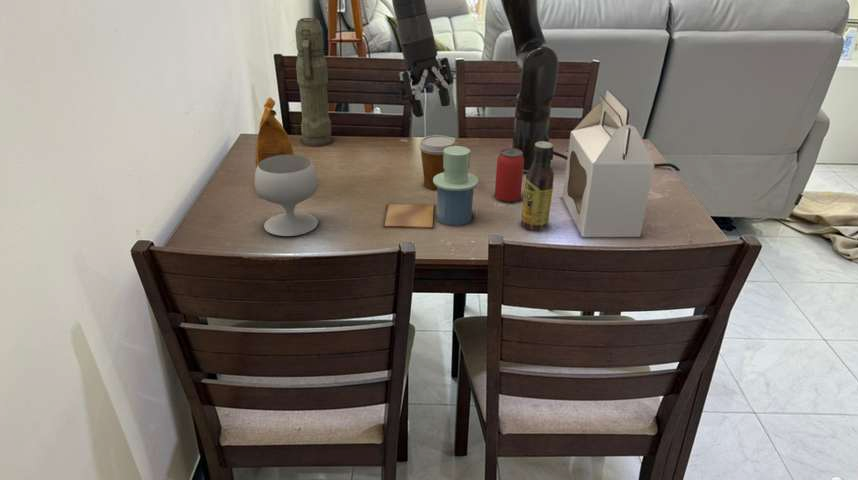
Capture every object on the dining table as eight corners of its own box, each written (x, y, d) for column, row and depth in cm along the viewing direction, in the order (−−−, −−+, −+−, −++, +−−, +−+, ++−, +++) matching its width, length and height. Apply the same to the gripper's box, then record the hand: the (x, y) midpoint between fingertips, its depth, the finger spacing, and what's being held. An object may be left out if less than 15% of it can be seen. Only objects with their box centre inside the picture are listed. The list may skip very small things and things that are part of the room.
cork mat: (433, 206, 164) (433, 205, 164) (432, 228, 154) (432, 226, 154) (388, 205, 165) (388, 203, 164) (384, 227, 154) (384, 225, 154)
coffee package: (297, 177, 180) (289, 94, 168) (297, 195, 169) (289, 109, 158) (259, 179, 178) (249, 96, 167) (257, 198, 168) (245, 111, 156)
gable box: (561, 197, 169) (576, 85, 155) (613, 197, 170) (632, 86, 155) (582, 238, 150) (600, 114, 136) (640, 237, 151) (665, 114, 136)
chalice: (324, 236, 150) (319, 173, 142) (260, 242, 147) (252, 178, 140) (319, 210, 162) (314, 150, 154) (259, 215, 159) (252, 154, 151)
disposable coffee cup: (451, 193, 171) (453, 148, 165) (415, 190, 173) (415, 145, 166) (457, 179, 179) (459, 136, 173) (422, 176, 181) (423, 133, 175)
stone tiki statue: (300, 148, 199) (289, 23, 181) (304, 135, 209) (294, 15, 191) (330, 147, 200) (322, 23, 182) (333, 134, 210) (325, 15, 192)
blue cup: (471, 210, 162) (472, 175, 158) (472, 225, 155) (473, 189, 151) (437, 209, 163) (438, 174, 158) (436, 224, 156) (437, 188, 151)
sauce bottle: (518, 220, 158) (525, 138, 148) (544, 219, 158) (553, 138, 148) (524, 232, 152) (532, 148, 142) (551, 232, 153) (561, 148, 143)
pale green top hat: (477, 182, 160) (479, 143, 155) (478, 199, 151) (480, 159, 146) (433, 180, 160) (434, 142, 155) (432, 198, 151) (433, 158, 146)
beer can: (523, 194, 171) (527, 149, 165) (517, 204, 166) (521, 158, 160) (497, 190, 173) (501, 146, 167) (491, 200, 168) (494, 154, 161)
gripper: (428, 32, 154) (443, 103, 161) (381, 47, 146) (399, 120, 153) (450, 28, 149) (465, 101, 155) (404, 43, 141) (421, 119, 147)
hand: (432, 111), depth 154 cm, fingers open, 8 cm apart
